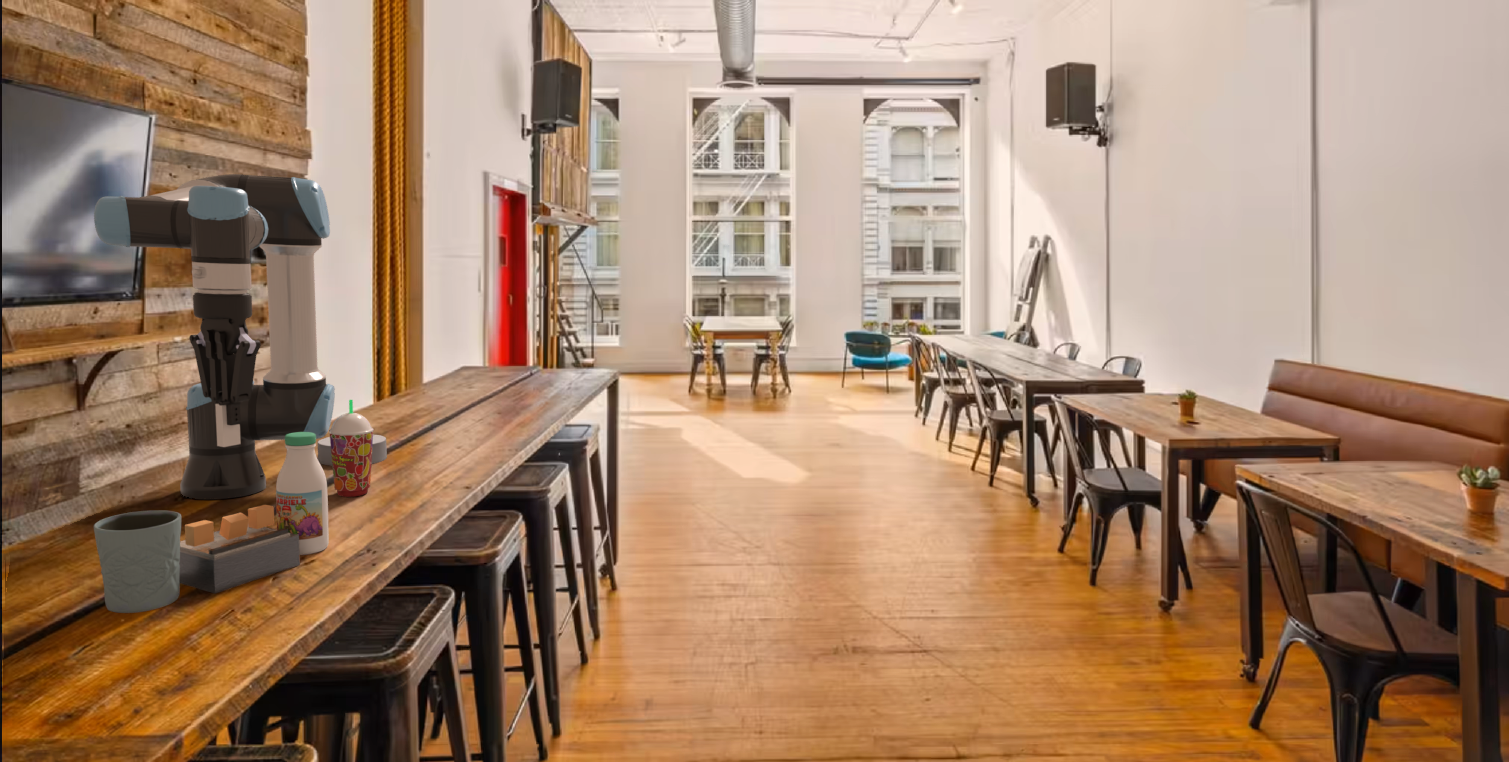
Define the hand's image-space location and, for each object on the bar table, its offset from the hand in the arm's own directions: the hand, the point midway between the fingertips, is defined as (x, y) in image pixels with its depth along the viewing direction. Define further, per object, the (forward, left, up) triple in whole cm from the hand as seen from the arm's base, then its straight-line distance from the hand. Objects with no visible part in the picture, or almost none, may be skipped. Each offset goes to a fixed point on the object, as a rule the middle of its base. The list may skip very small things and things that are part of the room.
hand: (229, 444), depth 131 cm
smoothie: (-21, +41, -21) cm, 50 cm away
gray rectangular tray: (0, 0, -20) cm, 20 cm away
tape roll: (-46, +63, -21) cm, 80 cm away
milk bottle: (0, +12, -21) cm, 24 cm away
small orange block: (0, 0, -15) cm, 15 cm away
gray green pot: (0, -14, -21) cm, 25 cm away
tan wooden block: (0, +5, -15) cm, 16 cm away
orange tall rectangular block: (0, -5, -15) cm, 16 cm away
